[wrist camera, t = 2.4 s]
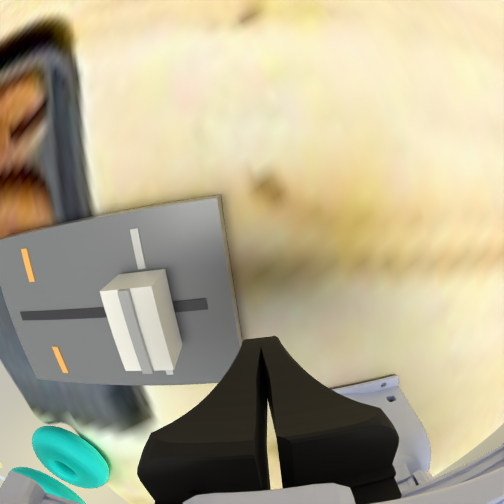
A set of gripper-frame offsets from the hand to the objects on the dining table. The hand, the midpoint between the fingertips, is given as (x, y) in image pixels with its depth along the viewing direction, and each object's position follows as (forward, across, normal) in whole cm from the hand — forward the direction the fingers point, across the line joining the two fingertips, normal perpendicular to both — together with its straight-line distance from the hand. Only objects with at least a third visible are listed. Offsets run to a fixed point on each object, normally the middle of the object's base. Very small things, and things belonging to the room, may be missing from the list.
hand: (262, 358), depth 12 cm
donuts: (+9, +24, +19) cm, 32 cm away
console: (+9, +10, 0) cm, 14 cm away
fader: (+6, +7, 0) cm, 9 cm away
